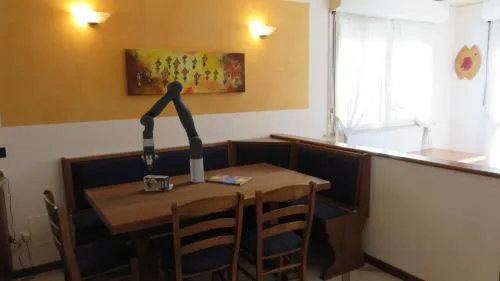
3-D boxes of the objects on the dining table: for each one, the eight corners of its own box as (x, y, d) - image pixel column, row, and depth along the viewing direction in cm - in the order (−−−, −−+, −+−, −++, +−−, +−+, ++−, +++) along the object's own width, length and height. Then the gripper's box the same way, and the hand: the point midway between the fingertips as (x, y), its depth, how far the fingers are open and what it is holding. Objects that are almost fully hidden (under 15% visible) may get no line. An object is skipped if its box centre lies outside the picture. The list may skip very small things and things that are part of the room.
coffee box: (143, 177, 266) (164, 178, 261) (148, 174, 272) (169, 175, 267) (144, 190, 268) (165, 191, 263) (149, 187, 274) (169, 188, 269)
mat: (173, 184, 281) (173, 184, 281) (170, 189, 268) (170, 189, 268) (149, 186, 280) (148, 185, 279) (145, 190, 267) (145, 190, 267)
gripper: (159, 143, 272) (160, 168, 275) (139, 144, 271) (141, 168, 274) (157, 145, 265) (159, 170, 267) (137, 146, 264) (139, 171, 266)
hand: (150, 169), depth 270 cm, fingers closed
